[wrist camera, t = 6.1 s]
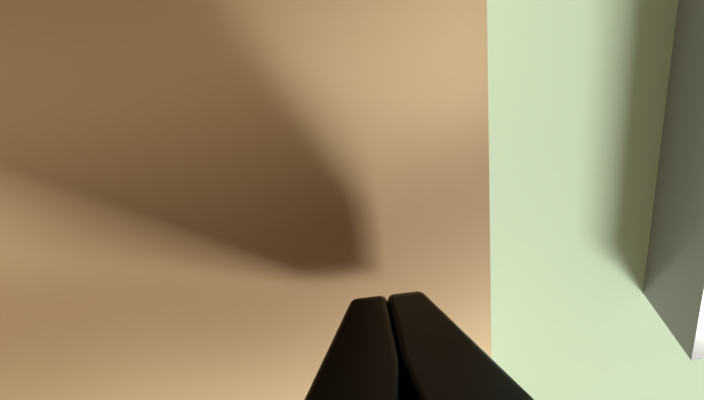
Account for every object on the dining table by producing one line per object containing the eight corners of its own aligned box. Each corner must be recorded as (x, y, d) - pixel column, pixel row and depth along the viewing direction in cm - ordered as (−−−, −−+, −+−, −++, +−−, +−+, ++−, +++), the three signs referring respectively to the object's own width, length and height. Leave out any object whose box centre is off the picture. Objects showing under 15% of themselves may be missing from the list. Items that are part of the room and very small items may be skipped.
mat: (821, 381, 16) (829, 390, 16) (453, 430, 16) (455, 440, 16) (1065, -356, 9) (1088, -361, 9) (413, -269, 9) (416, -270, 9)
